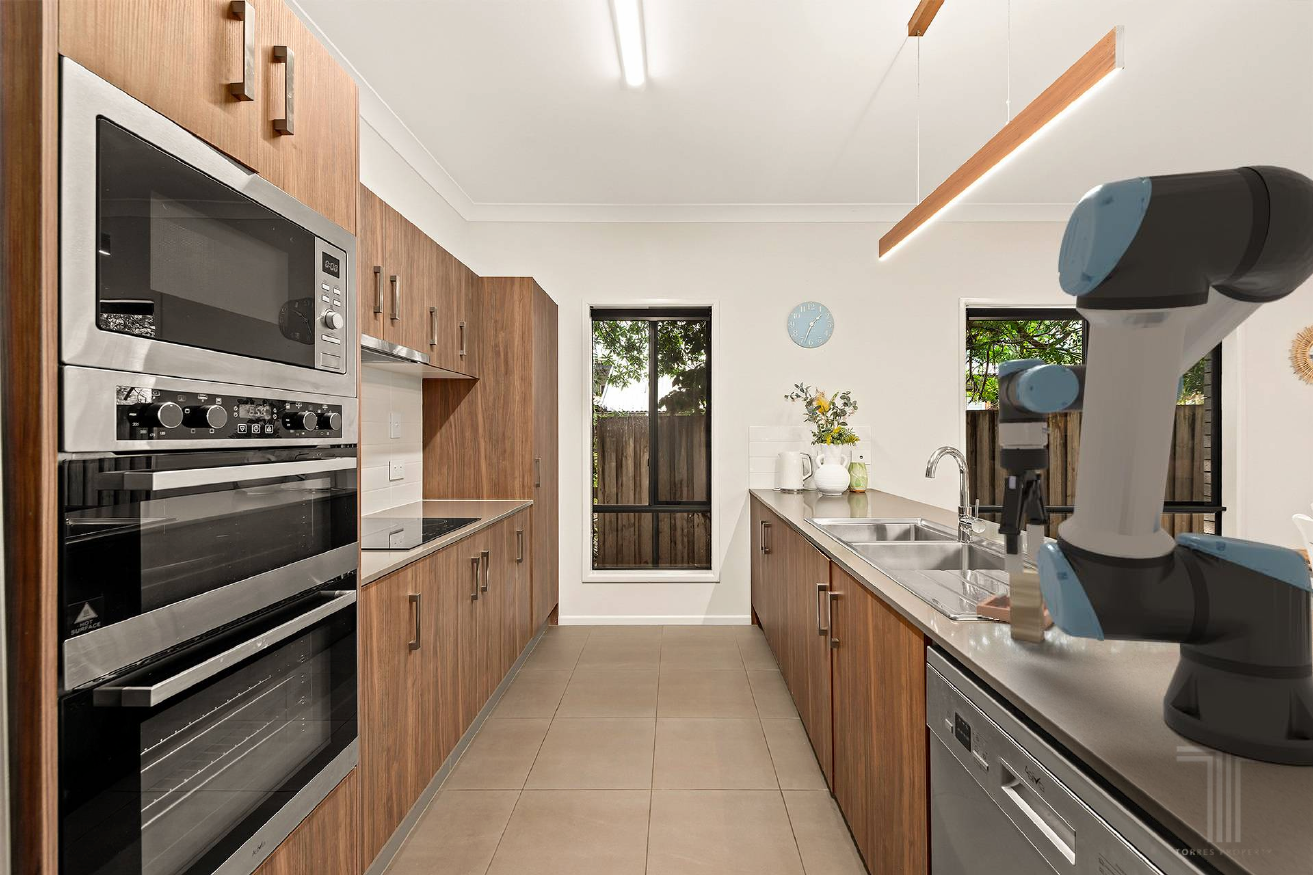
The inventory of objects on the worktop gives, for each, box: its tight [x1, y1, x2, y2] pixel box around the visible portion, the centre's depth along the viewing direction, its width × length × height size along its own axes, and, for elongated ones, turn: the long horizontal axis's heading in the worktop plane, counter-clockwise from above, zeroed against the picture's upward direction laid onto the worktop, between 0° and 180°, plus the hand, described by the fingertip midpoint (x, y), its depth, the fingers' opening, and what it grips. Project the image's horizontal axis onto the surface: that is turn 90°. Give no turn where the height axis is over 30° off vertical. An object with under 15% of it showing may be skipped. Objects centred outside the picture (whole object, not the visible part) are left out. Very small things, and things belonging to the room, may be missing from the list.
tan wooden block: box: [1008, 567, 1046, 644], centre depth 113 cm, size 4×4×12 cm
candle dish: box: [976, 592, 1054, 630], centre depth 127 cm, size 12×12×4 cm
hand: (1025, 566), depth 113 cm, fingers open, 13 cm apart
